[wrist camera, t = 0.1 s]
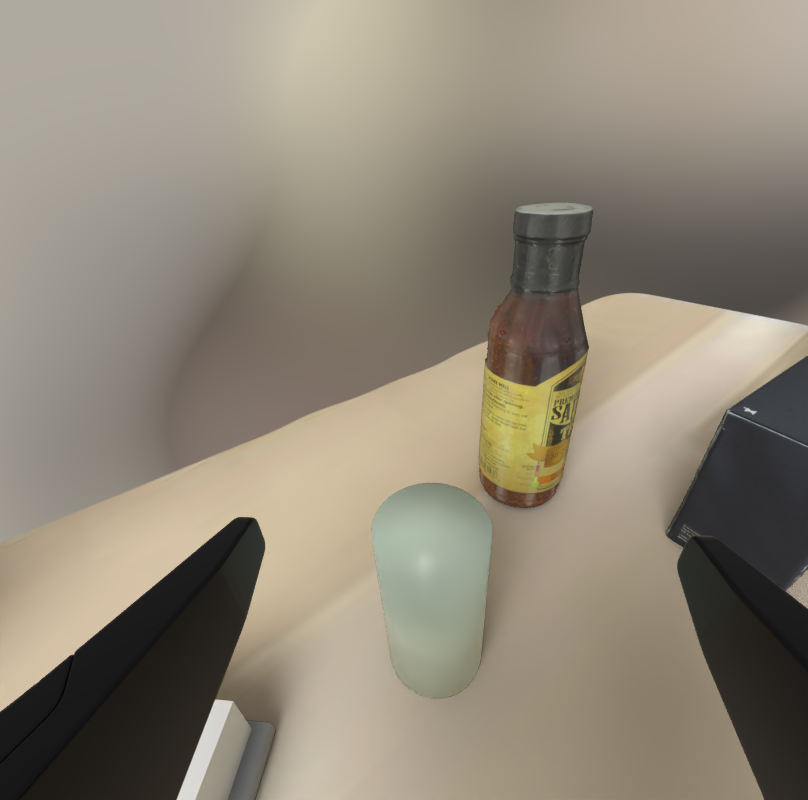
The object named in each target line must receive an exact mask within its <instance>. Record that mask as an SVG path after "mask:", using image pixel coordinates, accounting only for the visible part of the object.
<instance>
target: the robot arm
mask: <svg viewBox="0 0 808 800" xmlns="http://www.w3.org/2000/svg"><path fill="white" fill-rule="evenodd" d="M264 552H265V540H264V538H263V535H262V532H261V530H260V527H259V524H258V522H257V520H256V519H255V518H250V517H238V518H236V519H234V520H233V521H231V522H230V523H229V524H228V525H227V526H225V527H224V528H223V529H222V530H221V531H219V532H218V533H217V534H216V535H215V536H213V537H212V538H211V539H210V540H209V541H207V542H206V543H205V544H204V545H203V546H201V547H200V548H199V549H198V550H197V551H195V552H194V553H193V554H192V555H191V556H189V557H188V558H187V559H186V560H185V561H183V562H182V563H181V564H180V565H178V566H177V567H176V568H175V569H174V570H172V571H171V572H170V573H169V574H168V575H166V576H165V577H164V578H163V579H162V580H160V581H159V582H158V583H157V584H156V585H154V586H153V587H152V588H151V589H150V590H148V591H147V592H146V593H145V594H144V595H142V596H141V597H140V598H139V599H138V600H136V601H135V602H134V603H133V604H132V605H130V606H129V607H128V608H127V609H126V610H124V611H123V612H122V613H121V614H120V615H118V616H117V617H116V618H115V619H114V620H112V621H111V622H110V623H109V624H108V625H106V626H105V627H104V628H103V629H102V630H100V631H99V632H98V633H97V634H96V635H94V636H93V637H92V638H91V639H90V640H88V641H87V642H86V643H85V644H84V645H82V646H81V647H80V648H79V649H78V650H76V652H75V654H74V655H70V656H69V657H68V658H67V659H65V660H64V661H63V662H62V663H61V664H59V665H58V666H57V667H56V668H55V669H53V670H52V671H51V672H50V673H49V674H47V675H46V676H45V677H44V678H42V679H41V680H40V681H39V682H37V683H36V684H35V685H34V686H32V687H31V688H30V689H29V690H28V691H26V692H25V693H24V694H23V695H21V696H20V697H19V698H18V699H16V700H15V701H14V702H12V703H11V704H10V705H9V706H7V707H6V708H5V709H3V710H2V711H1V712H0V800H177V798H178V795H179V792H180V790H181V787H182V785H183V782H184V779H185V777H186V774H187V772H188V769H189V766H190V764H191V761H192V759H193V756H194V753H195V751H196V748H197V746H198V743H199V740H200V738H201V735H202V733H203V730H204V727H205V725H206V722H207V720H208V717H209V714H210V712H211V709H212V707H213V704H214V701H215V699H216V696H217V694H218V691H219V688H220V686H221V683H222V681H223V678H224V675H225V673H226V670H227V668H228V665H229V662H230V660H231V657H232V655H233V652H234V649H235V647H236V644H237V642H238V639H239V636H240V634H241V631H242V629H243V626H244V623H245V620H246V617H247V614H248V610H249V607H250V603H251V600H252V596H253V592H254V589H255V585H256V581H257V578H258V574H259V570H260V567H261V563H262V559H263V556H264ZM677 569H678V574H679V577H680V581H681V584H682V587H683V590H684V594H685V597H686V600H687V603H688V607H689V610H690V613H691V617H692V620H693V623H694V626H695V630H696V633H697V636H698V639H699V642H700V645H701V648H702V651H703V654H704V657H705V659H706V662H707V664H708V667H709V669H710V671H711V674H712V676H713V679H714V681H715V683H716V686H717V688H718V690H719V693H720V695H721V698H722V700H723V702H724V705H725V707H726V709H727V712H728V714H729V717H730V719H731V721H732V724H733V726H734V728H735V731H736V733H737V735H738V738H739V740H740V743H741V745H742V747H743V750H744V752H745V754H746V757H747V759H748V762H749V764H750V766H751V769H752V771H753V773H754V776H755V778H756V781H757V783H758V785H759V788H760V790H761V792H762V795H763V797H764V800H808V609H807V608H806V607H805V606H804V605H802V604H801V603H800V602H798V601H797V600H796V599H795V598H793V597H792V596H791V595H790V594H788V593H787V592H786V591H784V590H783V589H782V588H781V587H779V586H778V585H777V584H775V583H774V582H773V581H772V580H770V579H769V578H768V577H767V576H765V575H764V574H763V573H761V572H760V571H759V570H758V569H756V568H755V567H754V566H753V565H751V564H750V563H749V562H747V561H746V560H745V559H744V558H742V557H741V556H740V555H738V554H737V553H736V552H735V551H733V550H732V549H731V548H730V547H728V546H727V545H726V544H724V543H723V542H722V541H721V540H719V539H717V538H716V537H713V536H698V535H694V536H691V537H689V539H688V540H687V542H686V544H685V546H684V549H683V551H682V553H681V555H680V557H679V559H678V563H677Z"/></svg>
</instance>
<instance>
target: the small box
mask: <svg viewBox="0 0 808 800" xmlns="http://www.w3.org/2000/svg"><path fill="white" fill-rule="evenodd" d="M666 534H667V536H668V537H669V538H671V539H672V540H673V541H675V542H677V543H678V544H680V545H682V546H683V547H684V546H685V544H686V542H687V540H688V539H689V537H691V536H694V535H698V536H713V537H716V538H717V539H719V540H721V541H722V542H723V543H724V544H726V545H727V546H728V547H730V548H731V549H732V550H733V551H735V552H736V553H737V554H738V555H740V556H741V557H742V558H744V559H745V560H746V561H747V562H749V563H750V564H751V565H753V566H754V567H755V568H756V569H758V570H759V571H760V572H761V573H763V574H764V575H765V576H767V577H768V578H769V579H770V580H772V581H773V582H774V583H775V584H777V585H778V586H779V587H781V588H782V589H783V590H784V591H786V590H787V589H788V588H789V587H790V586H791V585H792V584H793V583H794V582H795V581H796V580H797V579H798V578H799V577H801V576H802V575H803V573H804V572H805V571H806V570H807V569H808V356H806V357H805V358H804V359H802V360H800V361H799V362H797V363H796V364H794V365H793V366H791V367H790V368H788V369H787V370H785V371H784V372H782V373H781V374H779V375H778V376H776V377H775V378H774V379H772V380H771V381H769V382H768V383H766V384H765V385H763V386H762V387H760V388H759V389H757V390H756V391H754V392H753V393H751V394H750V395H748V396H747V397H745V398H744V399H743V400H741V401H740V402H738V403H737V404H735V405H734V406H732V407H731V408H729V409H728V410H726V413H725V414H724V416H723V419H722V421H721V423H720V425H719V426H718V428H717V431H716V433H715V435H714V438H713V439H712V441H711V443H710V446H709V448H708V449H707V452H706V454H705V456H704V458H703V460H702V462H701V464H700V466H699V468H698V470H697V472H696V475H695V478H694V480H693V482H692V484H691V486H690V487H689V490H688V491H687V494H686V496H685V497H684V499H683V502H682V504H681V506H680V507H679V509H678V511H677V513H676V515H675V516H674V518H673V520H672V522H671V524H670V526H669V528H668V530H667V531H666Z"/></svg>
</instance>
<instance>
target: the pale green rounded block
mask: <svg viewBox="0 0 808 800" xmlns="http://www.w3.org/2000/svg"><path fill="white" fill-rule="evenodd" d="M371 531H372V542H373V548H374V554H375V561H376V567H377V574H378V580H379V586H380V593H381V599H382V605H383V612H384V618H385V625H386V631H387V637H388V644H389V650H390V656H391V661H392V665H393V668H394V670H395V672H396V674H397V675H398V677H399V679H400V680H401V681H402V682H403V684H404V685H406V686H407V687H408V688H409V689H410V690H412V691H413V692H415V693H417V694H419V695H421V696H424V697H428V698H437V699H440V698H447V697H450V696H453V695H455V694H457V693H459V692H461V691H462V690H464V689H465V688H466V687H467V686H468V685H469V684H470V683H471V681H472V680H473V678H474V677H475V675H476V673H477V671H478V668H479V665H480V660H481V651H482V641H483V630H484V619H485V609H486V598H487V588H488V577H489V566H490V556H491V545H492V524H491V520H490V517H489V515H488V513H487V511H486V510H485V508H484V507H483V505H482V504H481V503H480V502H479V501H478V500H477V499H476V498H474V497H473V496H472V495H470V494H469V493H467V492H466V491H464V490H462V489H459V488H457V487H454V486H451V485H447V484H441V483H422V484H416V485H412V486H409V487H406V488H404V489H401V490H399V491H398V492H396V493H394V494H393V495H391V496H390V497H389V498H388V499H386V500H385V501H384V502H383V504H382V505H381V506H380V507H379V509H378V510H377V512H376V514H375V516H374V519H373V523H372V530H371Z"/></svg>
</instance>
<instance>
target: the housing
mask: <svg viewBox="0 0 808 800" xmlns="http://www.w3.org/2000/svg"><path fill="white" fill-rule="evenodd" d="M37 682H39V681H37ZM37 682H36V683H37ZM36 683H35V684H36ZM274 734H275V729H274V728H273V726H272V724H271V723H269V722H260V721H250V720H246V719H245V718H244V716H243V715H242V714H241V712H240V711H239V709H238V708H237V706H236V705H235V703H234V702H233V701H226V700H216V699H215V701H214V704H213V707H212V709H211V712H210V714H209V717H208V720H207V722H206V725H205V727H204V730H203V733H202V735H201V738H200V740H199V743H198V746H197V748H196V751H195V753H194V756H193V759H192V761H191V764H190V766H189V769H188V772H187V774H186V777H185V779H184V782H183V785H182V787H181V790H180V792H179V795H178V798H177V800H255V798H256V795H257V791H258V788H259V785H260V781H261V778H262V774H263V771H264V768H265V764H266V761H267V758H268V754H269V751H270V748H271V744H272V741H273V737H274Z"/></svg>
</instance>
